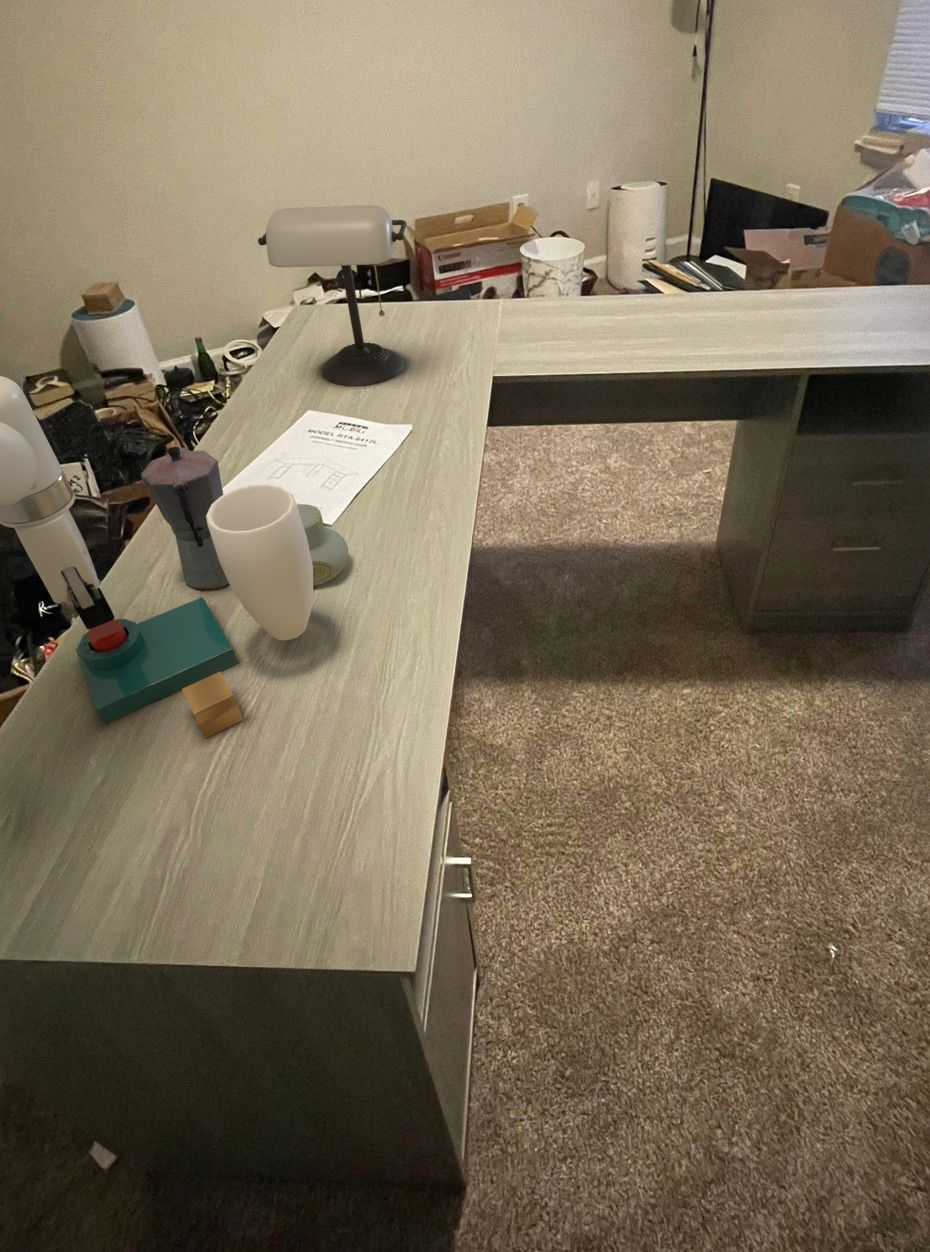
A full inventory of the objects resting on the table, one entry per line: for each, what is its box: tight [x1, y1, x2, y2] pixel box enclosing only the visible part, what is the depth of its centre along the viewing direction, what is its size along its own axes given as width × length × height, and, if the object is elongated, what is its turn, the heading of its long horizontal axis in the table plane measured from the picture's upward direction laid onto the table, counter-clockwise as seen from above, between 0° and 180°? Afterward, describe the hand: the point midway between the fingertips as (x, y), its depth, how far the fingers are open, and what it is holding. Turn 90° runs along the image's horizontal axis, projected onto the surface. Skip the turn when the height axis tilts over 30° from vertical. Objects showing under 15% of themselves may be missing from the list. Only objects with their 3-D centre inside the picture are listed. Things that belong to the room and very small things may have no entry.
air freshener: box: [297, 503, 349, 587], centre depth 103 cm, size 11×8×10 cm
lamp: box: [257, 204, 408, 387], centre depth 145 cm, size 26×24×34 cm
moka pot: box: [140, 446, 230, 590], centre depth 100 cm, size 10×15×20 cm, turn 26°
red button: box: [87, 619, 127, 652], centre depth 90 cm, size 4×4×2 cm
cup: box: [206, 483, 314, 641], centre depth 88 cm, size 10×10×22 cm
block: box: [181, 671, 244, 739], centre depth 85 cm, size 4×4×4 cm
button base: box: [75, 596, 239, 725], centre depth 92 cm, size 16×12×4 cm
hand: (100, 620), depth 88 cm, fingers closed
